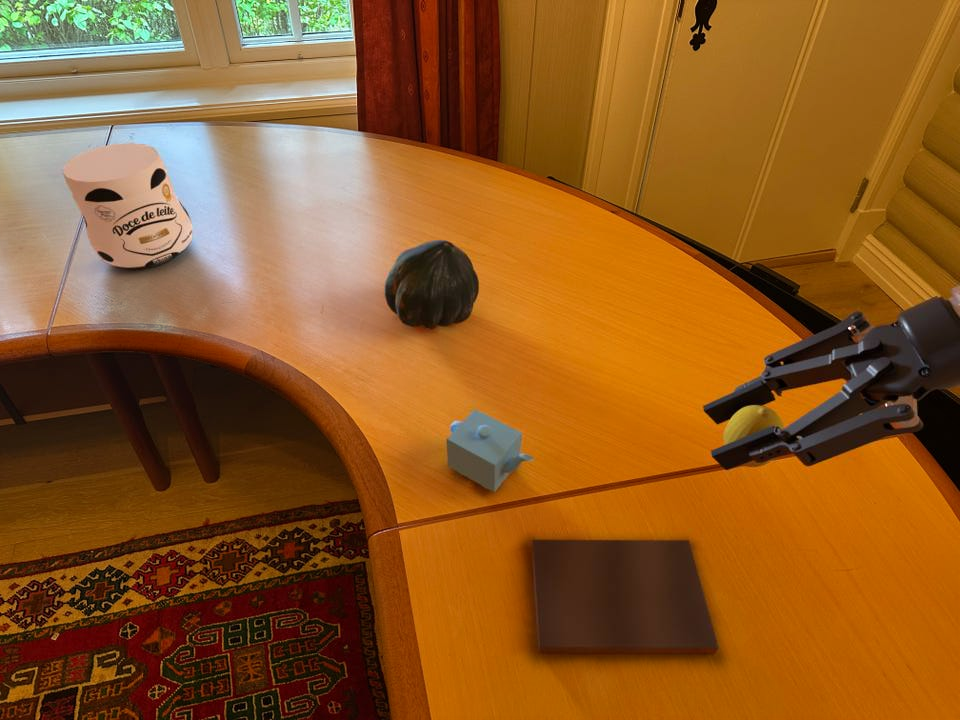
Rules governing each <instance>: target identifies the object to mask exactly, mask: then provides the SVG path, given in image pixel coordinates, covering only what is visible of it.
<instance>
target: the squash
mask: <svg viewBox="0 0 960 720" xmlns="http://www.w3.org/2000/svg"><path fill="white" fill-rule="evenodd" d="M478 277H479V276H478V274H477V272H476V271H475V269H474V265H473V263H472V260H471V259H470V257H469V256H468V254H467V253H466V252H465V251H463V249H461V248H459V247H458V246H456V245H454V243H452V242H451V241H448V240H445V239H436V240H430V241H426V242H423V243H420V244H418V245H416V246H414V247H411V248H408V249H405V250H404V251H402V252H400V254H399V255H398V256H397V258H396V259H395V261H394V264H393V265H392V267H391V268H390V269H389V272H388V274H387V277H386V279H385V281H384V298H385V301H386V304H387V307H388V308H389V309H390V311H392V312H393V313H394V314H395V315H397V317H398V318H399V321H400V322H401V323H402V324H403V325H406V326H408V327H410V328H411V327H412V328H416V327H420V326H423V327H424V328H425V329H428V330H434V329H436V328H437V327H438V326H439V327H448V326H450V325H452V324H460V323H463V322H465V321H467V320H468V319H469V318H470V316H471V314H472V312H473V309H474V306H475V305H474V304H475V302H476V301H477V298H478V295H479V292H480V281H479V278H478Z"/></svg>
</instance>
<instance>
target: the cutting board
mask: <svg viewBox="0 0 960 720" xmlns="http://www.w3.org/2000/svg"><path fill="white" fill-rule="evenodd" d="M531 558H532V559H531V560H532V574H533V589H534V590H533V591H534V604H535V620H536V621H535V622H536V637H537V651H538V653H539V654H698V655H699V654H710V655H711V654H716V653H717V651H718V650H719V643H718V640H717V636H716V633H715V629H714V626H713V623H712V618H711V615H710V612H709V608H708V604H707V600H706V597H705V593H704V590H703V586H702V582H701V579H700V575H699V572H698V568H697V563H696V561H695V557H694V553H693V549H692V546H691V543H690V540H687V539H683V540H682V539H681V540H680V539H671V540H670V539H668V540H667V539H532V541H531Z"/></svg>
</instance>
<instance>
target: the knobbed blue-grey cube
mask: <svg viewBox="0 0 960 720" xmlns="http://www.w3.org/2000/svg"><path fill="white" fill-rule="evenodd" d="M449 431H450V432H451V433H450V435H449V436H448V437H447V438H446V439H445V440H446V454H447V455H446V456H447V467H449V468H450V469H452V470H454V471H456V472H457V473H459V475H462V476H464V477H466V478H468V479H470V480H471V481H472V482H475V483H477V484H479V485H480V486H482V487H483V488H484V489H485V490H489V491H490V492H492V493H496V491H497V490H498V489H499V488H500V486H502V484H503V483H504V481H505V480H506V478H507V477H508V476H510V474H511V473H514V472H515V471H517V470H518V469H519V468H520V466H521V465H522V463H523V462H533V461H534V458H533V457H532V456H531V455H529V454H527V453H521V452H522V440H523V439H522V438H523V432H522V431H519V430H518V429H515V428H513V427H511V426H510V425H508V424H506V423H504V422H502V421H501V420H498V419H496V418H494V417H492V416H490V415H488V414H487V413H484V412H482V411H480V410H478V409H476V408H474V409H472V410H471V412H470V413H469V414H468V415H467V416H466V417H465V418H464V419H463V421H462V420H455V421H453V422H452V423H451V424H450V426H449Z"/></svg>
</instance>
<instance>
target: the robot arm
mask: <svg viewBox="0 0 960 720" xmlns="http://www.w3.org/2000/svg"><path fill="white" fill-rule="evenodd" d="M950 294H951V296H950V297H948V298H945V297H944V296H943V295H942V296H938V295H935V296H933V297H931V298H928V299H926V300H924V301H922V302H919V303H917V304H915V305H913V306H910V307H909V308H906V309H904V310H902V311H900V312H899V313H898V315H897V318H896V319H897V320H896V321H894V322H892V323H888V324H881V325H874V324H873V323H871V322H870V321H869V320H868V319H867V318H866V317H865V315H864V314H863V312H862V311H854V312H852V313H851V314H850V315H848V316H847V317H846V318H844V319H843V320H841V321H840V322H839V323H837V324H835V325H833V326H831V327H828V328H827V329H824V330H822V331H820V332H818V333H815V334H812V335H810V336H808V337H805V338H803V339H801V340H800V341H799V340H798V341H797V342H795V343H793V344H790V345H788V346H786V347H784V348H782V349H779V350H777V351H774V352H772V353H770V354H768V355H766V356H765V357H764V359H763V364H765V367H764V370H763V371H762V372H761V374H760V375H759V376H757V377H754V378H753V379H751V380H749V381H747V382H744V383H742V384H740V385H738V386H736V387H735V388H734V389H733V392H731V393H728V394H726V395H724V396H721V397H720V398H717V399H715V400H712V401H710V402H708V403H706V404H703V405H702V409H703V413H705V414H706V415H707V416H708V417H709V418H710V419H711V420H712V421H713V422H714V423H715V424H716V426H718V425H720V424H723V423H725V422H727V421H729V420H730V419H731V417H732V416H733V415H734V414H735V413H736V412H737V411H739V410H740V409H741V408H743V407H746V406H749V405H762V406H766V405H768V404H770V403H772V402H775V401H776V397H775V394H776V396H778V397H782V396H783V392H785V391H790V390H794V389H799V388H805V387H808V386H814V385H819V384H823V383H827V382H832V381H837V380H846V382H845V383H844V384H842V386H841V390H840V391H838V392H837V393H835V394H834V395H833V396H831V397H830V398H827V399H826V400H825V401H823V402H822V403H820V404H818V405H817V406H816V407H814V408H812V409H811V410H810V411H807V413H805V414H803V415H802V416H800V417H799V418H797V419H796V420H794V421H793V422H791V423H790V424H789V425H787V426H784V429H782V430H781V429H780V428H779V427H778V426H777V427H775V426H774V425H773V426H771V427H768V428H766V429H763V430H761V431H758V432H756V433H754V434H751V435H749V436H746V437H744V438H741V439H739V440H736V441H734V442H731V443H729V444H726V445H724V444H723V445H721V446H719V447H717V448H714V449H712V450H710V454H711V457H712V458H713V459H714V461H716V463H718V464H719V465H720V466H721V467H722V468H723V469H724V470H725V471H729V470H731V469H734V468H737V467H739V466H743V465H742V464H745V463H748V462H750V461H753V460H754V461H755V462H756V463H763V462H766V461H768V460H771V459H773V460H774V459H776V458H780V457H782V456H784V455H787V454H792V455H794V456H795V457H796V458H797V459H798V460H799V461H800V462H801V464H802V465H803V466H805V467H811V466H814V465H817V464H819V463H822V462H824V461H828V460H830V459H832V458H835V457H838V456H840V455H844V454H846V453H849V452H851V451H852V450H856V449H859V448H861V447H863V446H866V445H869V444H871V443H874V442H876V441H879V440H882V439H884V438H886V437H890V436H893V435H901V434H909V433H917V432H919V431H921V430H922V429H923V428H924V423H923V421H922V420H921V418H920V417H919V416H918V402H919V401H921V400H922V399H923V398H924V397H925V396H926V395H928V394H929V393H930V392H932V391H934V390H940V389H942V390H952V389H954V388H957V387H960V284H958V285H956V286H953V287H952V288H951V291H950ZM773 392H774V393H775V394H774V393H773ZM883 405H884V406H883Z"/></svg>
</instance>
